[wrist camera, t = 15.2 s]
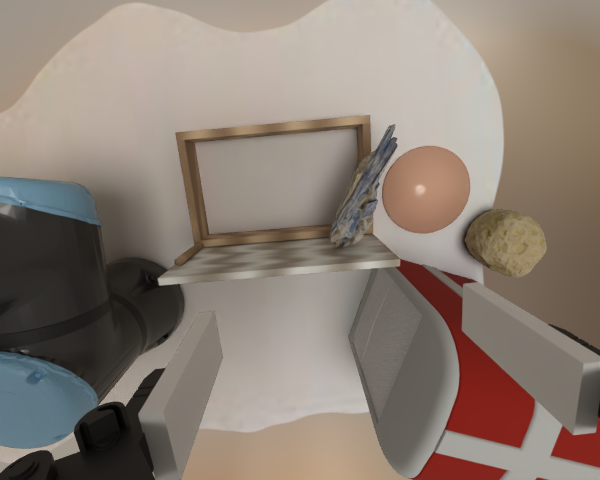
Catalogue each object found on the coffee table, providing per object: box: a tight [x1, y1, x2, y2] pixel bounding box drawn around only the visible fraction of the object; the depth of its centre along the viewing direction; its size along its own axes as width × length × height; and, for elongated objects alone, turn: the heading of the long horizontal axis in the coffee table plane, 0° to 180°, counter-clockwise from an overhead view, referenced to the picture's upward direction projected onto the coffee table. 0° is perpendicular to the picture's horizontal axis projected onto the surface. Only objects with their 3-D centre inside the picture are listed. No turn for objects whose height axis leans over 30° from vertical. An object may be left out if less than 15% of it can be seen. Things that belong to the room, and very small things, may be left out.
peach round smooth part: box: [383, 146, 470, 233], centre depth 46 cm, size 13×13×1 cm
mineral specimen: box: [329, 124, 397, 248], centre depth 37 cm, size 15×8×4 cm
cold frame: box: [158, 115, 400, 285], centre depth 38 cm, size 26×17×16 cm, turn 95°
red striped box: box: [349, 259, 600, 480], centre depth 38 cm, size 16×18×27 cm
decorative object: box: [464, 209, 547, 277], centre depth 44 cm, size 9×10×10 cm
